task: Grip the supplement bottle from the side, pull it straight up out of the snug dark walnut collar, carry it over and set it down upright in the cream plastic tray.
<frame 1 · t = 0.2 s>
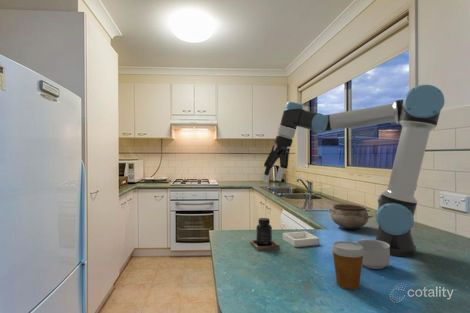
hand: (271, 181, 129), 28 cm above the countertop, tool tilted 20°, fingers open, 13 cm apart
disposable coffee cup: (347, 285, 85), on the countertop
walnut collar: (264, 246, 122), on the countertop
teacup: (371, 264, 101), on the countertop
cooking pot: (349, 228, 152), on the countertop
cream tray: (300, 242, 128), on the countertop
supplement bottle: (264, 246, 122), resting in walnut collar
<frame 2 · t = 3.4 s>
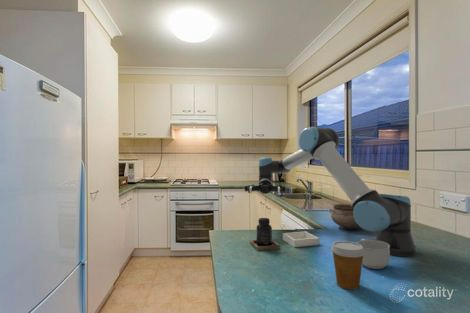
hand: (264, 190, 132), 23 cm above the countertop, tool horizontal, fingers open, 13 cm apart
nothing on the countertop moved.
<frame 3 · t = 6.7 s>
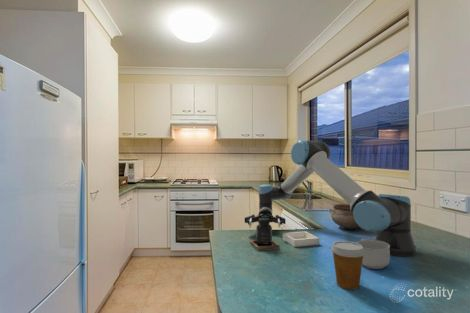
hand: (264, 224, 131), 7 cm above the countertop, tool horizontal, fingers open, 13 cm apart
nothing on the countertop moved.
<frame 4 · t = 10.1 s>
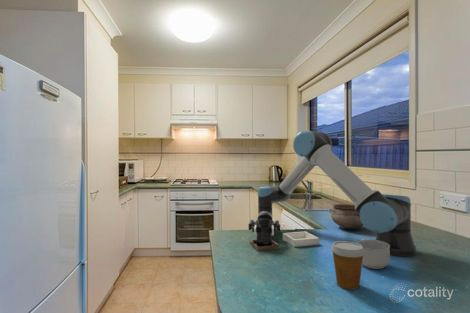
hand: (263, 231, 118), 8 cm above the countertop, tool horizontal, fingers closed on supplement bottle, 7 cm apart
supplement bottle: (264, 246, 122), resting in walnut collar, touching gripper
everything else where it was.
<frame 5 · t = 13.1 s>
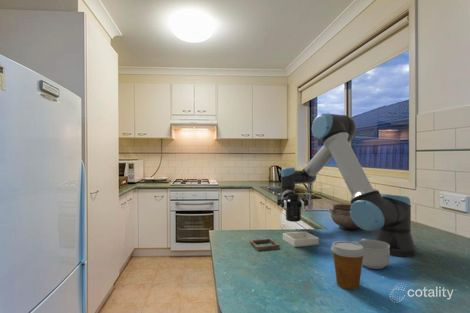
hand: (294, 205, 122), 18 cm above the countertop, tool horizontal, fingers closed on supplement bottle, 7 cm apart
supplement bottle: (293, 220, 127), point 10 cm above the countertop, touching gripper
everything else where it was.
when the fingers open (9 cm above the countertop, at t = 16.3 s): supplement bottle stays where it is, resting on cream tray.
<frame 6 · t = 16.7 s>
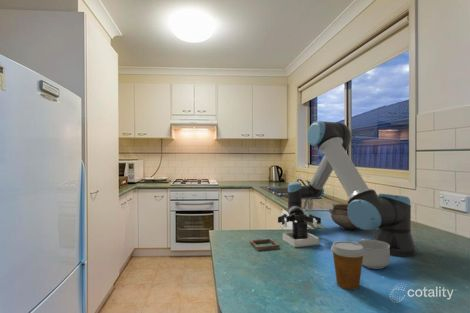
hand: (301, 224, 125), 9 cm above the countertop, tool horizontal, fingers open, 13 cm apart
supplement bottle: (300, 241, 128), resting on cream tray
everything else where it was.
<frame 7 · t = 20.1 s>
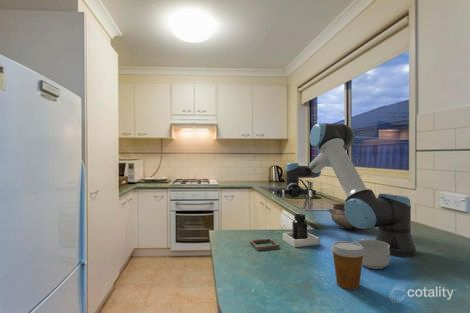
hand: (297, 194, 138), 21 cm above the countertop, tool horizontal, fingers open, 13 cm apart
nothing on the countertop moved.
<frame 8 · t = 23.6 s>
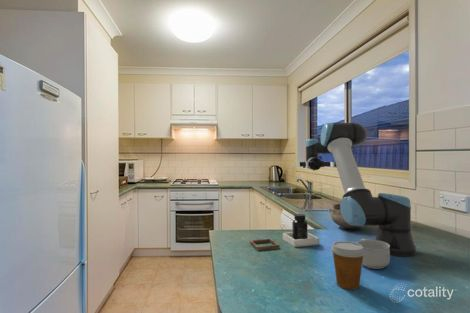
hand: (320, 164, 149), 35 cm above the countertop, tool horizontal, fingers open, 13 cm apart
nothing on the countertop moved.
at the end: supplement bottle inside the target area on the cream tray (0.1 cm from its centre), point 0.3 cm above the cream tray's base; supplement bottle tilted 0°; the gripper is holding nothing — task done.
